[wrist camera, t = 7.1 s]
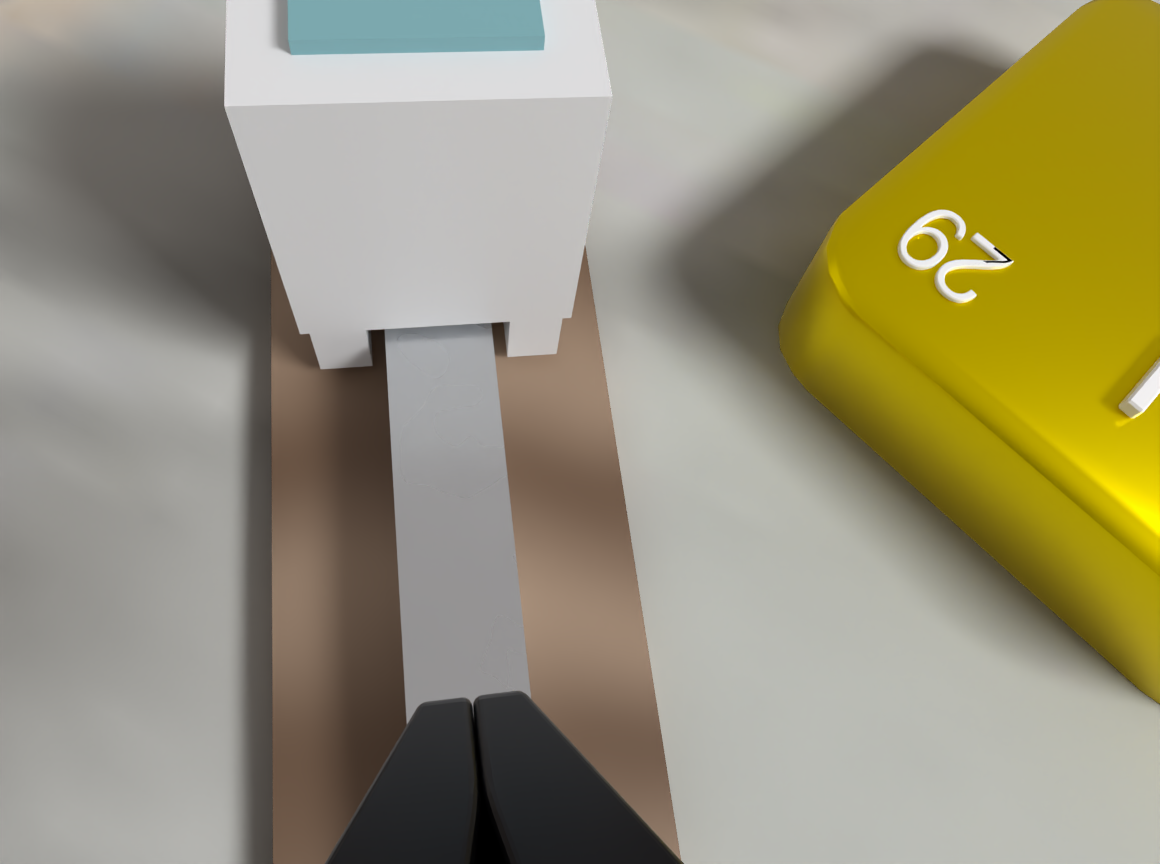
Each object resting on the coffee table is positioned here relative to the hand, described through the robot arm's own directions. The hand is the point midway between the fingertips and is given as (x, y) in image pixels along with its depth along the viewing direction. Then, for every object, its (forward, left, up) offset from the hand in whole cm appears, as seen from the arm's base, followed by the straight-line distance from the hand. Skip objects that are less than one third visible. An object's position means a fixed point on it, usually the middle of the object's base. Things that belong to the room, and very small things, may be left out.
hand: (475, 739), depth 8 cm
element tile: (+17, -12, -14) cm, 25 cm away
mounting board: (+6, +3, -13) cm, 15 cm away
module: (+11, +6, -12) cm, 18 cm away
